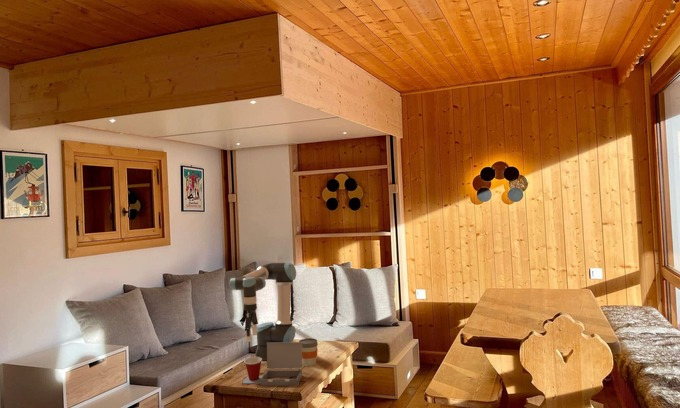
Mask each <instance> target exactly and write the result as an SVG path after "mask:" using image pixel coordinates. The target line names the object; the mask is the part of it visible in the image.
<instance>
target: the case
mask: <svg viewBox="0 0 680 408" xmlns="http://www.w3.org/2000/svg"><path fill="white" fill-rule="evenodd" d="M262 376H263V377H262V378H261V384H260V387H261V386H262V387H263V386H267V387H269V386H270V387H271V386H273V387H274V386H277V387H278V386H279V387H280V386H287V387H288V386H299V383H300V382H301V379H302V378H303V369H302V370H266V371H265V372H264V374H263V375H262ZM274 377H275V378H274ZM276 377H279V378H276ZM281 377H282V378H281ZM283 377H285V378H283ZM287 377H289V378H287ZM290 377H291V378H290ZM293 377H295V378H293Z"/></svg>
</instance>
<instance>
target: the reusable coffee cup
mask: <svg viewBox="0 0 680 408" xmlns="http://www.w3.org/2000/svg"><path fill="white" fill-rule="evenodd" d="M298 342H302V366H304V367H312V366H315V365H317V357H318V345H319V343H318V339H316V338H302V339H300V340H299V341H298Z"/></svg>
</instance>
